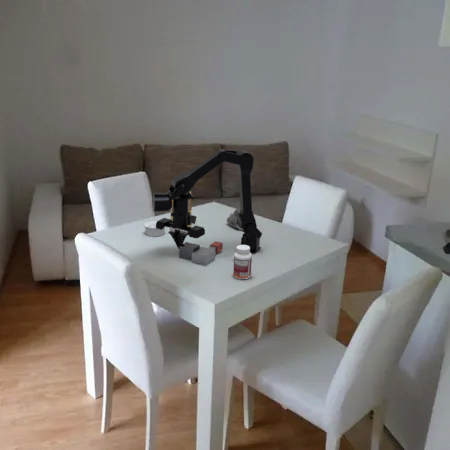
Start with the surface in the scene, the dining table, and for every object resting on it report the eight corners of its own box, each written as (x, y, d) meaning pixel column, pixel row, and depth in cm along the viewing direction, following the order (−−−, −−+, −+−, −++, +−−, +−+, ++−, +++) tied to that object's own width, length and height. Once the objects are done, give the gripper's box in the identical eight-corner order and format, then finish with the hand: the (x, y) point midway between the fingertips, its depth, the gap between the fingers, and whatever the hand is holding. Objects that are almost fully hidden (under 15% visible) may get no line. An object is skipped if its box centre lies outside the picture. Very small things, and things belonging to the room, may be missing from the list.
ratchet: (226, 251, 195) (226, 242, 193) (205, 266, 181) (206, 256, 180) (200, 245, 199) (201, 236, 198) (179, 259, 186) (179, 249, 185)
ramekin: (141, 236, 208) (141, 226, 206) (149, 229, 216) (149, 219, 215) (161, 238, 206) (161, 228, 204) (168, 231, 214) (168, 222, 213)
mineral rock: (225, 223, 227) (226, 202, 223) (247, 222, 229) (248, 201, 226) (233, 233, 215) (234, 211, 211) (256, 231, 218) (258, 210, 214)
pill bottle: (241, 270, 178) (242, 242, 175) (254, 276, 174) (256, 247, 171) (229, 276, 174) (230, 246, 170) (242, 281, 170) (244, 252, 166)
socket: (199, 256, 189) (199, 245, 187) (193, 261, 185) (193, 249, 183) (186, 253, 191) (186, 242, 190) (179, 257, 187) (179, 245, 186)
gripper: (213, 209, 187) (211, 247, 192) (171, 200, 195) (171, 237, 200) (197, 217, 177) (196, 257, 183) (154, 207, 185) (154, 246, 191)
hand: (179, 248), depth 189 cm, fingers closed
